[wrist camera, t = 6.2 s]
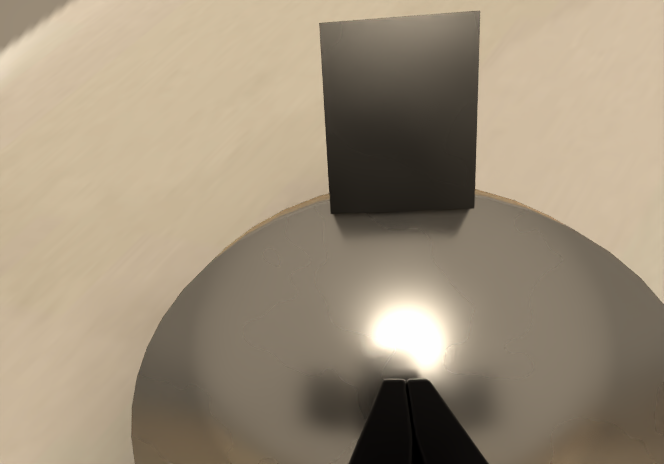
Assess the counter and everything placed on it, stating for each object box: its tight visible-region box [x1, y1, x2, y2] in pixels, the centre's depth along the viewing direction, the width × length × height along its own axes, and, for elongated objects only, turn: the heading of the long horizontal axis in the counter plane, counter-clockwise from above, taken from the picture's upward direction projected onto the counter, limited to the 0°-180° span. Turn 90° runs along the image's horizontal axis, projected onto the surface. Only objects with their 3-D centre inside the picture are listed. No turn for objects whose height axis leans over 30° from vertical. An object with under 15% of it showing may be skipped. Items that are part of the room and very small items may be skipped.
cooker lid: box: [131, 11, 664, 464], centre depth 9 cm, size 14×12×2 cm
